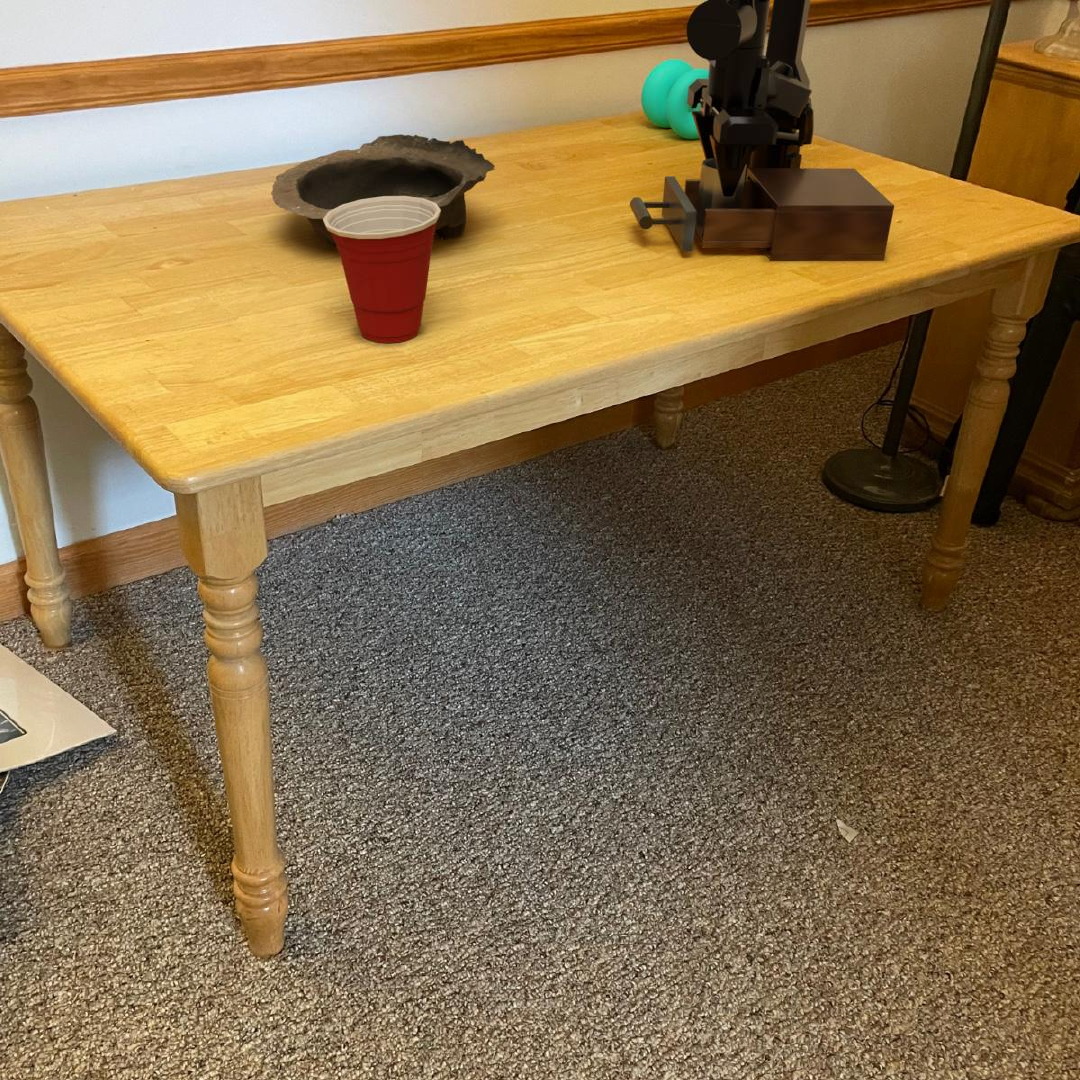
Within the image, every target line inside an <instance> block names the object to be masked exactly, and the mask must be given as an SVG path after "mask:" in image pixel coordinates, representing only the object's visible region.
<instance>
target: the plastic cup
mask: <svg viewBox="0 0 1080 1080" xmlns="http://www.w3.org/2000/svg"><path fill="white" fill-rule="evenodd" d="M440 212H441V210H440V208H439V207H438V205H437V204H436V203H434V202H432V201H429V200H426V199H424V198H417V197H409V196H382V197H375V198H367V199H361V200H357V201H354V202H350V203H346V204H343V205H341V206H339V207H337V208H335V209H333V210H331V211H329V212H328V213H327V214H326V216H325V217H324V218H323V221H324V223H325V226H326V228H327V230H328V231H330V232H331V234H332V236H333V238H334V241H335V246H336V248H337V250H338V253H339V258H340V261H341V265H342V269H343V274H344V277H345V281H346V285H347V289H348V293H349V296H350V300H351V303H352V306H353V310H354V314H355V318H356V323H357V327H358V330H359V332H360V334H361V336H362V337H363V338H365V339H366V340H368V341H372V342H376V343H381V344H382V343H385V344H395V343H402V342H405V341H409V340H411V339H413V338H415V337H417V336H418V333H419V332H420V327H421V325H422V320H423V319H422V318H423V311H424V304H425V302H424V301H425V300H426V296H427V288H428V280H429V274H430V273H429V272H430V264H431V256H432V248H433V244H434V238H435V234H434V233H435V226H436V223H437V220H438V218H439V216H440Z"/></svg>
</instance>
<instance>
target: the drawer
mask: <svg viewBox="0 0 1080 1080" xmlns="http://www.w3.org/2000/svg"><path fill="white" fill-rule="evenodd" d="M663 183H664V185H663V194H662V201H644V200H643V199H642V198H641V197H640V196H635V197H633V198H631V200H630V202H629V207H630V209H631V211H632V213H633V216H634V217H635V220H636V221H637V223H638V225H639V228H640V229H642V230H644V231H646V230H650V229H651V228H652V227H653V226H654V225H656V226H659V225H660V226H661V225H662V226H666V225H667V227H668V229H669V231H670V232H671V234H672V236H673V238H674V239H675V242H676V243H677V245H678V248H679V249H680V250H681V252H682V253H693V250H694V240H695V238H696V240H697V241H698V243H699V246H701V248H702V249H745V248H746V249H760V248H761V249H762V248H771V241H772V234H773V227H774V220H775V213H776V209H775V208H774V206H773V205H772V204H771V203H770V201H769V200H768V199H767V198H766V196H765V195H764V194H763V193H762V192H761V190H760V189H759V188H758V187H757V185H756V184H755V183H754V182H753V180H752V179H745V182H744V190H743V198H742V206H741V209H705V212H704V222H703V228H702V227H700V226H698V225H697V223H696V214H697V204H698V195H699V185H700V178H686V179H684V189H683V188H682V186H681V185H680V182H679V181H678V180H677V178H676V177H675V176H672V175H671V176H669V175H668V176H666V175H665V176H664V182H663ZM648 209H661V216H662V217H652V215H651V214H650V212H649V210H648Z"/></svg>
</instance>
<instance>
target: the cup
mask: <svg viewBox="0 0 1080 1080" xmlns="http://www.w3.org/2000/svg"><path fill="white" fill-rule="evenodd" d="M746 166H747V165H746ZM746 166H745V168H744V171H743V173H742V175H741V178H740V180H739V183H738V185H737V188H736V190H735V193H734V195H733V196H732V197H725V196H724V195H723V192H722V188H721V184H720V180H719V175H718V171H717V166H716V162H715V158H710V159H707V160H706V159H704V160H702V162H701V167H700V177H699V179H700V185H699V195H698V204H697V214H696V223H697V225H698V226H700V227H702V228H703V222H704V212H705V209H741V206H742V198H743V190H744V182H745V174H746Z"/></svg>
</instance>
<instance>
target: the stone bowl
mask: <svg viewBox="0 0 1080 1080" xmlns="http://www.w3.org/2000/svg"><path fill="white" fill-rule="evenodd" d="M476 149H477V148H470V146H468V145H466V144H465V142H464V140H463V139H460V140H455V141H453V142H451V141H446V140H439V139H437V138H435V137H432V138H430V139H429V137H426V136H420V135H417V134H414V135H410V134H405V135H404V134H391V135H380V136H378V137H377V138H376V139H374V140H373V141H371V142H366V143H362V144H361V146H360V147H359V148H357V149H341V150H340V149H339V150H337V151H334V152H331V153H329V154H325V155H320V156H318V157H315V158H312V159H307V160H305V161H301V162H300V163H299V164H297V165H294V167H290V168H288V169H286V170H285V171H284V172H282V173H279V174H277V175H276V177H275V181H273V182H274V183H273V184H272V190H271V192H270V195H271V196H272V197H271V198H272V201H273V203H274V205H276V206H277V207H279V208H280V209H283V210H284V211H289V213H293V214H295V215H298V216H303V217H305V218H306V219H307V220H308V222H309V223H310V225H311V227H312V228H313V230H314V231H315V233H316V235H317V236H318V237H319V238H320V240H322V241H323V242H324V243H325V244H327V245H330V246H333V245H336V243H335V241H334V238H333V236H332V234H331V232H330V231H328V230H327V228H326V226H325V223H324V221H323V218H324V217H325V216H326V214H327V213H328V212H329V211H331V210H333V209H335V208H337V207H339V206H341V205H343V204H346V203H350V202H354V201H357V200H361V199H367V198H375V197H382V196H409V197H417V198H424V199H426V200H429V201H432V202H434V203H436V204H437V205H438V207H439V208H440V210H441V212H440V216H439V218H438V220H437V223H436V226H435V233H434V236H437V237H438V238H440V239H442V240H443V241H448V240H456V239H459V238H461V237H463V236H464V233H465V231H466V225H467V208H466V207H467V206H466V199H465V196H466V195H465V194H466V193H467V192H469V191H471V190H472V189H473V188H474V187H475V186H476V185H477V184H478V183H480V182H483V181H485V179H486V177H487V173H488V172H492V171H494V170H495V167H496V166H495V164H493V163H492V162H491V161H489V159H486V158H485V156H484V154H483V153H477V150H476Z"/></svg>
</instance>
